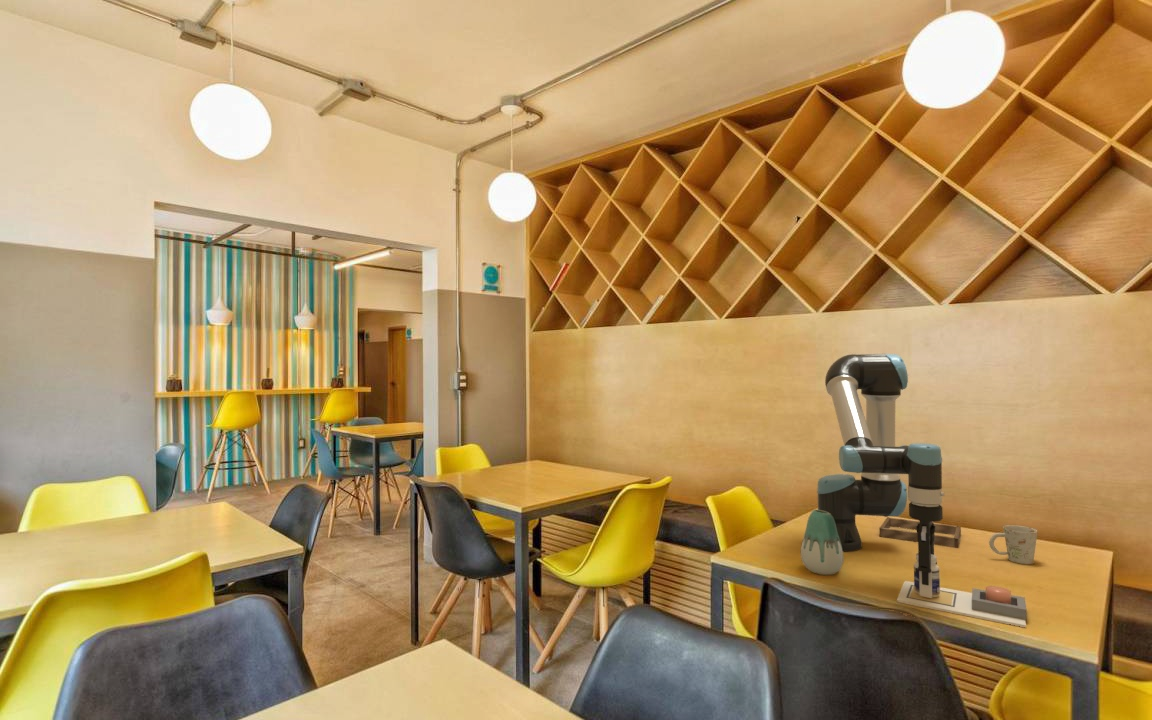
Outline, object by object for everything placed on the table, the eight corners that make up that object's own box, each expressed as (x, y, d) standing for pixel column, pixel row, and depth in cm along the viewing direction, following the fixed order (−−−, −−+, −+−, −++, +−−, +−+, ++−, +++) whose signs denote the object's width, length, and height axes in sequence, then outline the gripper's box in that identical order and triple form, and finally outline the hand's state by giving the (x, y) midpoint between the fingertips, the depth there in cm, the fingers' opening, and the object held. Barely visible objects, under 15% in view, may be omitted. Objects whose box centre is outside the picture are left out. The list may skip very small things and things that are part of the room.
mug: (1044, 566, 172) (1043, 533, 172) (997, 564, 175) (996, 531, 175) (1028, 557, 180) (1027, 525, 180) (983, 555, 183) (982, 523, 183)
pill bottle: (909, 590, 152) (908, 552, 153) (929, 589, 153) (929, 551, 153) (924, 598, 147) (923, 559, 147) (945, 597, 147) (944, 558, 147)
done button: (985, 603, 140) (985, 590, 140) (985, 596, 144) (985, 584, 145) (1011, 608, 138) (1011, 595, 138) (1010, 601, 142) (1010, 588, 142)
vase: (841, 567, 173) (840, 507, 174) (845, 580, 162) (844, 516, 163) (800, 563, 177) (799, 504, 177) (801, 575, 166) (801, 513, 166)
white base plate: (897, 601, 147) (896, 590, 147) (904, 583, 160) (904, 572, 160) (1027, 628, 131) (1027, 615, 131) (1024, 604, 144) (1024, 592, 144)
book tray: (879, 536, 204) (879, 528, 204) (887, 525, 219) (887, 517, 219) (958, 548, 191) (958, 538, 191) (960, 535, 205) (960, 526, 206)
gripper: (939, 512, 140) (941, 608, 140) (945, 498, 155) (946, 584, 155) (904, 508, 145) (906, 601, 144) (913, 495, 160) (914, 579, 159)
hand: (927, 592), depth 150 cm, fingers closed on pill bottle, 6 cm apart
